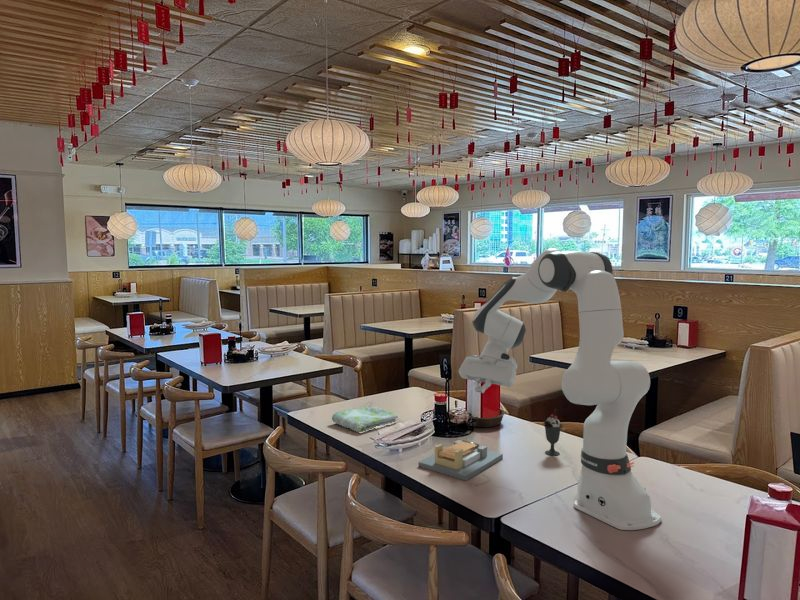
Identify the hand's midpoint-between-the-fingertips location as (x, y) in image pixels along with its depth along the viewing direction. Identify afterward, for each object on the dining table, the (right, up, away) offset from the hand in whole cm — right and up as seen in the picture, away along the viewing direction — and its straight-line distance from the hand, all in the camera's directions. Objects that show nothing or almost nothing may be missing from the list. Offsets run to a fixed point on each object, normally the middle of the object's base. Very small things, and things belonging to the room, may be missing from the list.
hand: (479, 391), depth 185 cm
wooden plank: (-3, -17, -3) cm, 18 cm away
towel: (-41, -20, +35) cm, 58 cm away
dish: (+7, -19, +35) cm, 41 cm away
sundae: (+25, -22, +1) cm, 33 cm away
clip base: (-7, -22, -7) cm, 24 cm away
